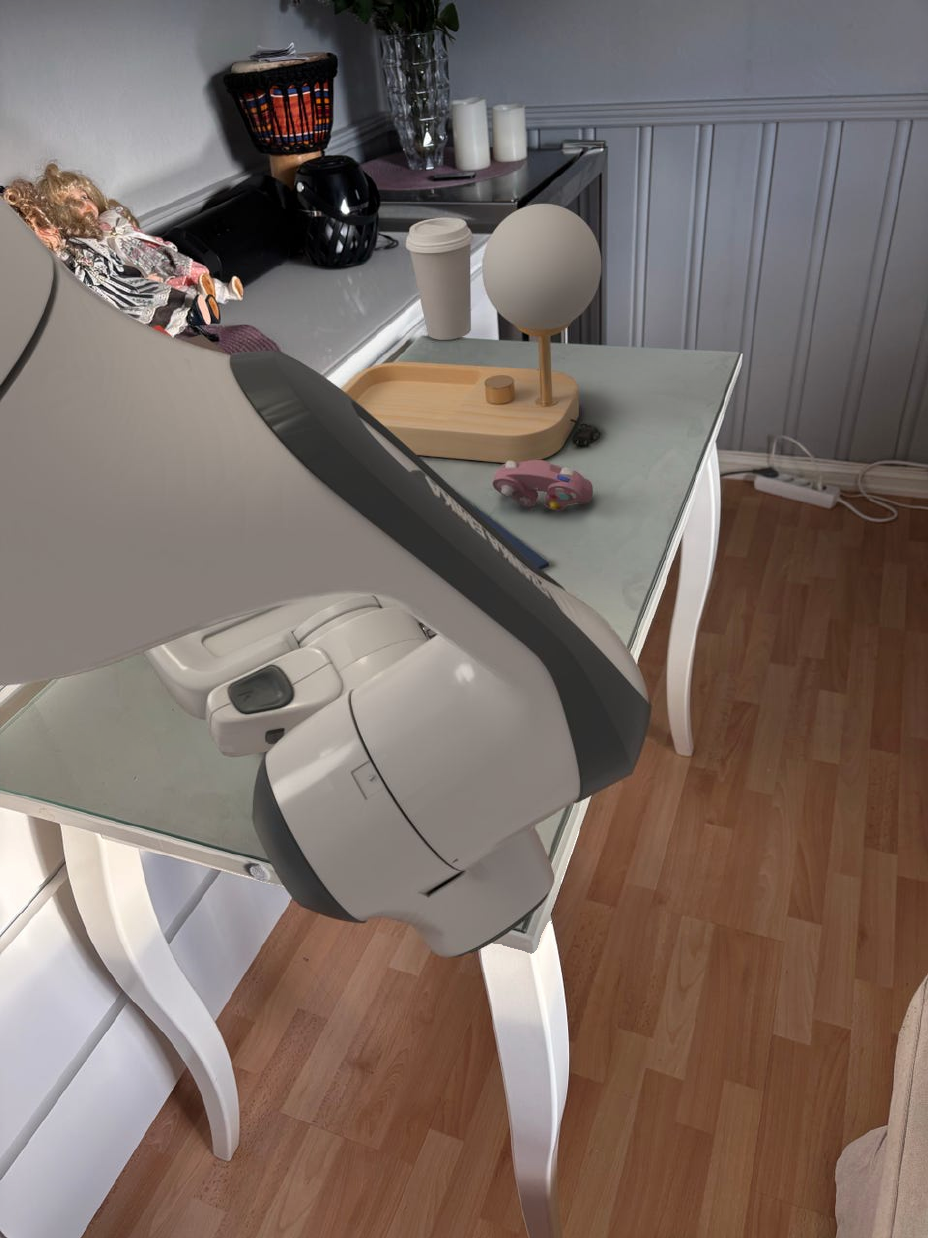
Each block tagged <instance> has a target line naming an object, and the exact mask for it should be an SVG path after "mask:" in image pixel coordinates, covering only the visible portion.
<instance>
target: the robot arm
mask: <svg viewBox="0 0 928 1238" xmlns="http://www.w3.org/2000/svg"><path fill="white" fill-rule="evenodd" d="M152 327H153V326H150V325H148V324H145V323H144V322H142V321H140V320H138V319H136V318H134V317H133V316H131V315H129V314H127V312H125V311H123V310H121V309H120V308H119V307H117V306H115V305H114V304H112V303H111V302H110V301H108V300H107V299H105V298H104V297H103V296H101V295H100V294H99V293H97V292H96V291H94V289H92V288H91V287H90V286H88V285H87V284H86V283H85V282H84V281H83V280H82V279H80V278H79V277H78V276H77V275H76V274H75V273H74V272H73V271H71V269H69V268H68V266H66V264H65V263H64V262H63V261H62V259H60V257H58V256H57V254H55V252H54V251H53V250H51V249H50V248H49V247H48V245H47V244H46V242H45V241H44V240H43V239H42V238H41V237H40V236H39V235H38V234H37V233H36V232H35V231H34V230H33V229H32V228H31V226H30V225H28V224H27V222H26V221H25V220H24V219H23V217H21V216H20V215H19V214H18V212H16V211H15V210H14V209H13V207H11V205H10V204H9V203H8V202H7V201H6V200H5V199H4V198H3V197H2V196H1V195H0V687H2V686H16V685H24V684H31V683H38V682H45V681H53V680H58V679H64V678H67V677H72V676H77V675H81V674H84V673H88V672H92V671H95V670H99V669H103V668H105V667H109V666H111V665H114V664H118V663H120V662H123V661H125V660H128V659H130V658H132V657H135V656H138V655H140V654H142V656H143V657H144V658H145V660H146V662H147V664H148V665H149V667H150V668H151V670H152V672H153V673H154V674H155V676H156V678H157V679H158V681H159V682H160V683H161V685H162V687H164V689H165V690H166V692H167V693H168V694H169V696H170V697H171V698H172V699H173V701H174V702H175V703H176V704H177V705H178V706H179V707H180V708H181V709H182V710H183V711H184V712H186V714H189V715H190V716H192V717H194V718H195V719H199V720H203V721H205V723H206V727H207V731H208V733H209V736H210V738H211V741H212V742H213V745H215V747H216V749H217V750H218V751H219V752H220V754H221V755H223V756H224V757H227V758H241V757H245V756H250V755H256V754H257V755H258V754H261V753H262V754H263V756H262V758H261V761H260V763H259V766H258V770H257V774H256V776H255V782H254V787H253V796H252V812H251V819H252V824H253V828H254V830H255V833H256V835H257V838H258V840H259V843H260V845H261V847H262V850H263V851H264V853H265V855H266V857H267V859H268V861H269V863H270V864H271V865H270V866H271V867H272V868H273V870H274V872H275V874H276V876H277V877H278V879H279V881H280V883H281V885H282V886H283V887H284V889H285V890H286V891H287V893H288V894H289V896H290V897H291V899H292V900H294V902H295V903H296V904H297V905H298V906H299V907H301V908H303V909H306V910H308V911H311V912H313V913H316V914H319V915H322V916H325V917H327V918H331V919H334V920H338V921H342V922H347V923H354V924H365V923H367V922H368V921H369V920H372V919H388V920H392V921H396V922H400V923H404V924H407V925H410V926H412V928H413V930H415V932H416V933H417V934H418V935H419V937H420V938H421V939H422V941H423V942H424V944H425V945H426V946H427V947H428V949H429V950H430V951H432V953H433V954H434V955H436V956H438V957H441V958H446V959H447V958H449V959H451V958H458V957H459V958H460V957H463V956H465V955H467V954H473V953H475V952H477V951H480V950H482V949H484V948H485V947H487V946H489V945H491V944H493V943H495V942H497V940H499V939H501V938H503V937H504V936H506V935H507V934H509V933H510V932H511V931H514V929H516V928H517V927H519V926H520V925H521V924H522V923H524V922H525V921H526V919H527V918H528V917H529V916H530V915H532V914H533V913H535V912H536V911H537V910H538V909H539V908H540V907H541V906H542V905H543V904H544V902H545V901H546V900H547V898H548V897H549V894H550V892H551V890H552V888H553V887H554V884H555V874H554V873H555V872H554V870H553V867H552V863H551V861H550V858H549V855H548V853H547V851H546V849H545V845H544V844H543V841H542V839H541V837H540V834H539V832H538V830H537V828H536V826H538V825H540V824H541V823H543V822H544V821H546V820H548V819H549V818H551V817H552V816H554V815H556V814H557V813H559V812H560V811H562V810H563V809H565V808H567V807H568V806H570V805H571V804H579V803H580V802H583V801H584V800H586V799H588V798H589V797H592V796H594V795H596V794H597V793H599V792H601V791H603V790H605V789H607V788H609V787H611V786H613V785H614V784H617V783H618V782H620V781H622V780H624V779H627V778H628V777H630V776H632V775H633V774H634V772H635V769H636V767H637V764H638V761H639V759H640V756H641V753H642V750H643V746H644V744H645V741H646V737H647V734H648V729H649V725H650V722H651V721H650V720H651V715H652V708H653V704H652V702H651V700H650V698H649V694H648V690H647V685H646V683H645V680H644V677H643V674H642V672H641V669H640V668H639V666H638V664H637V661H636V659H635V658H634V656H633V655H632V653H631V651H630V649H629V648H628V646H627V645H626V644H625V642H624V640H623V639H622V638H621V637H620V635H619V634H618V633H617V631H616V630H615V629H614V628H613V627H612V626H611V625H610V623H608V621H607V620H606V619H605V618H604V617H603V616H602V615H601V614H600V613H599V612H598V611H597V610H595V608H593V607H592V606H590V605H589V604H588V603H587V602H585V601H583V600H582V599H581V598H579V597H578V596H576V595H574V594H573V593H571V592H569V591H567V589H566V588H564V586H563V585H561V584H560V583H559V582H558V581H557V580H555V579H554V578H553V577H551V576H550V575H549V574H547V573H546V572H545V571H543V569H539V568H538V567H536V566H535V565H534V564H533V563H532V562H531V561H529V560H528V559H527V558H526V557H525V556H524V555H523V554H522V553H521V552H520V551H518V550H517V549H516V548H515V547H514V546H513V545H512V544H511V543H510V542H509V541H508V540H507V539H506V538H505V537H504V536H503V535H501V534H500V533H499V532H498V531H497V530H496V529H495V528H494V527H493V526H492V525H491V524H490V523H489V522H488V521H487V520H486V519H485V518H483V517H482V516H481V515H480V514H479V513H478V512H477V511H476V510H475V509H474V508H473V507H472V506H471V505H470V504H471V503H470V502H469V501H467V500H466V499H465V498H463V497H462V495H460V494H459V493H458V492H457V491H456V489H454V488H453V487H452V485H450V484H449V483H448V482H447V481H445V479H444V478H442V477H441V476H440V475H439V474H438V473H437V472H436V471H435V470H434V469H433V468H432V467H431V466H429V464H428V463H426V462H425V460H423V459H422V458H421V457H420V456H419V455H416V454H415V453H414V452H413V451H412V450H411V449H410V448H409V447H407V446H406V445H405V444H404V443H403V442H402V441H401V440H400V439H399V438H397V437H396V436H395V435H394V434H393V433H392V432H391V431H389V430H388V429H387V428H386V427H385V426H384V425H383V424H381V423H380V422H379V421H378V420H377V419H376V418H374V417H373V416H372V415H371V414H370V413H369V412H367V411H366V410H365V409H364V408H363V407H362V406H361V405H359V404H358V403H357V402H356V401H355V400H354V399H352V398H351V397H350V396H349V395H348V394H346V393H345V392H344V391H343V390H341V388H340V387H339V386H338V385H336V383H333V382H332V381H331V380H329V379H328V378H326V377H325V376H324V375H322V374H321V373H320V372H318V371H316V370H315V369H313V368H312V367H310V366H309V365H307V364H305V363H304V362H302V361H300V360H298V359H296V358H294V357H292V356H291V355H288V354H286V353H285V352H283V351H281V350H278V349H270V350H269V349H268V350H255V351H244V352H243V351H241V352H232V353H231V354H228V353H225V352H224V353H225V354H224V353H220V352H216V351H212V350H209V349H205V348H202V347H199V346H196V345H193V344H190V343H187V342H184V341H182V340H183V339H182V340H181V339H179V338H177V337H175V336H173V335H171V336H169V335H167V334H165V333H162V332H160V331H158V330H156V329H154V328H152ZM464 499H465V500H466V501H465V500H464ZM468 502H469V503H470V504H469V503H468Z"/></svg>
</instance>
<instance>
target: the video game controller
mask: <svg viewBox="0 0 928 1238" xmlns="http://www.w3.org/2000/svg"><path fill="white" fill-rule="evenodd" d="M492 487H493V488H494V490H495V491H497V492H498V493H500V494H502V495H503V496H505V497H508V498H512V499H513V500H514V501H515V502H517V503H518V504H519V505H521V506H523V507H534V506H535V505H536V503H537V500H538V497H539V493H538V492H542V493H545V495H544V499H543V504H544V506H545V507H547V508H548V509H550V510H553V511H563V510H564V509H566V507H567V506H569V505H575V504H577V505H585V504H587V503H589V502H590V501H592V498H593V495H594V487H593V483H592V482H591V481H590V479H587V478H585V477H584V476H583V475H582V474H581V473H580V472H578V471H576V470H573V468H571V467H561V466H559V465H557V464H554V463H553V464H552V463H551V462H549V461H547V460H544V459H541V460H530V461H523V462H518V463H515V462H514V461H507V462H506V463H503V464H502V465H501V466H500V467H499V468H498V470H497V471H496V473H495V474H494V477H493V480H492Z"/></svg>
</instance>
